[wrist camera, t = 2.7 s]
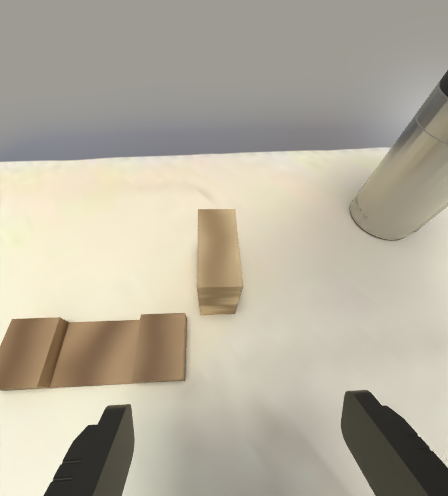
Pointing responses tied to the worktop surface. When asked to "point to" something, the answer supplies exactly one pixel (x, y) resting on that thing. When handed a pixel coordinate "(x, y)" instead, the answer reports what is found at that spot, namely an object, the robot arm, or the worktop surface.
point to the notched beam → (93, 352)
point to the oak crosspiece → (218, 262)
